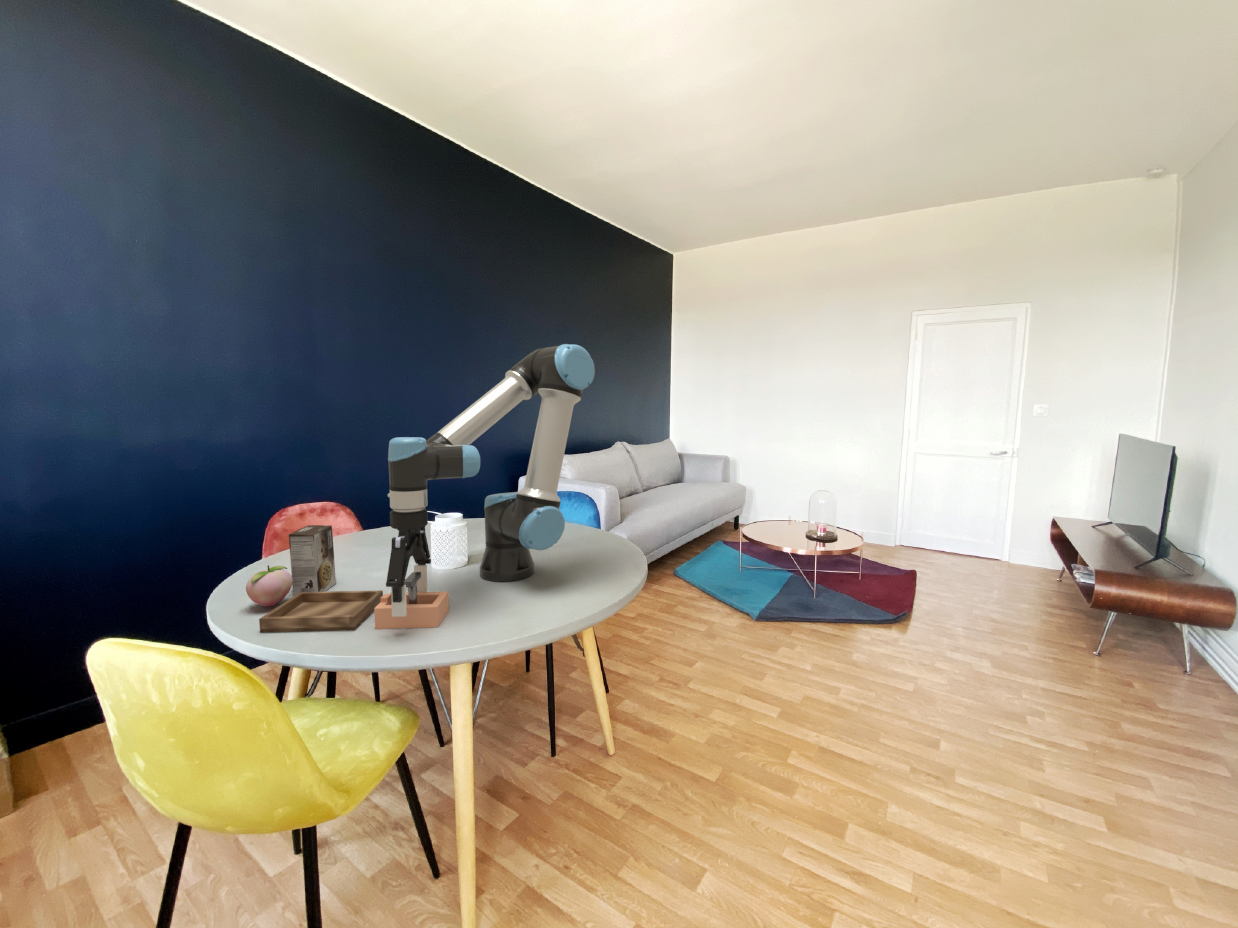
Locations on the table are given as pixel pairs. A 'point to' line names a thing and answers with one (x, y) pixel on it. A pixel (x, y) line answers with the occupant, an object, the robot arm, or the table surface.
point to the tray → (321, 612)
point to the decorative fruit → (269, 586)
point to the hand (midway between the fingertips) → (410, 603)
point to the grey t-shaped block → (412, 586)
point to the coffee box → (312, 559)
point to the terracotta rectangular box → (413, 611)
